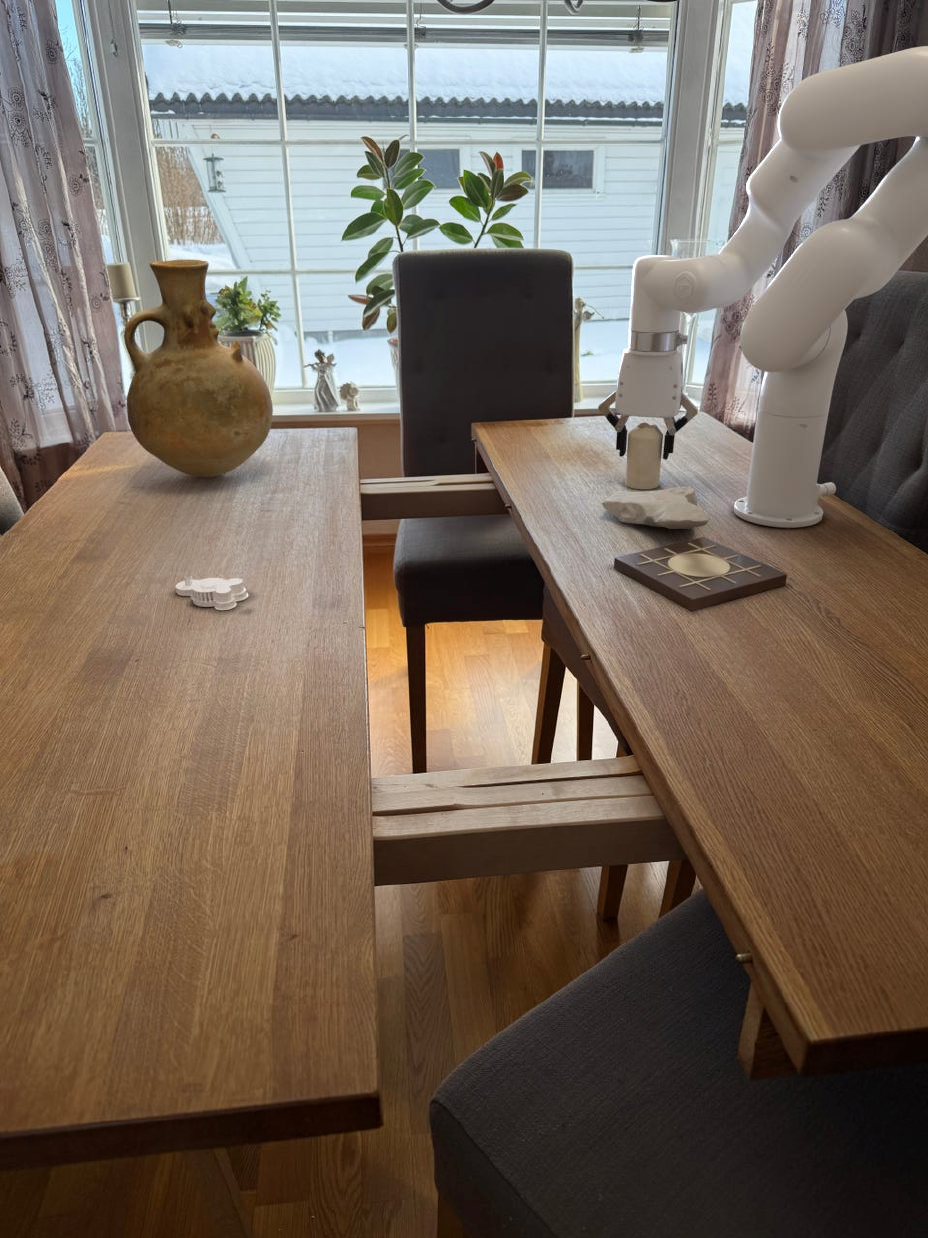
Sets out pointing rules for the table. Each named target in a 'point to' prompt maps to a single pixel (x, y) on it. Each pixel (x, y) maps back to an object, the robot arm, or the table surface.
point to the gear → (213, 591)
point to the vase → (194, 382)
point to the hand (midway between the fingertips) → (644, 454)
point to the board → (699, 572)
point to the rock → (658, 508)
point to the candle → (644, 457)
